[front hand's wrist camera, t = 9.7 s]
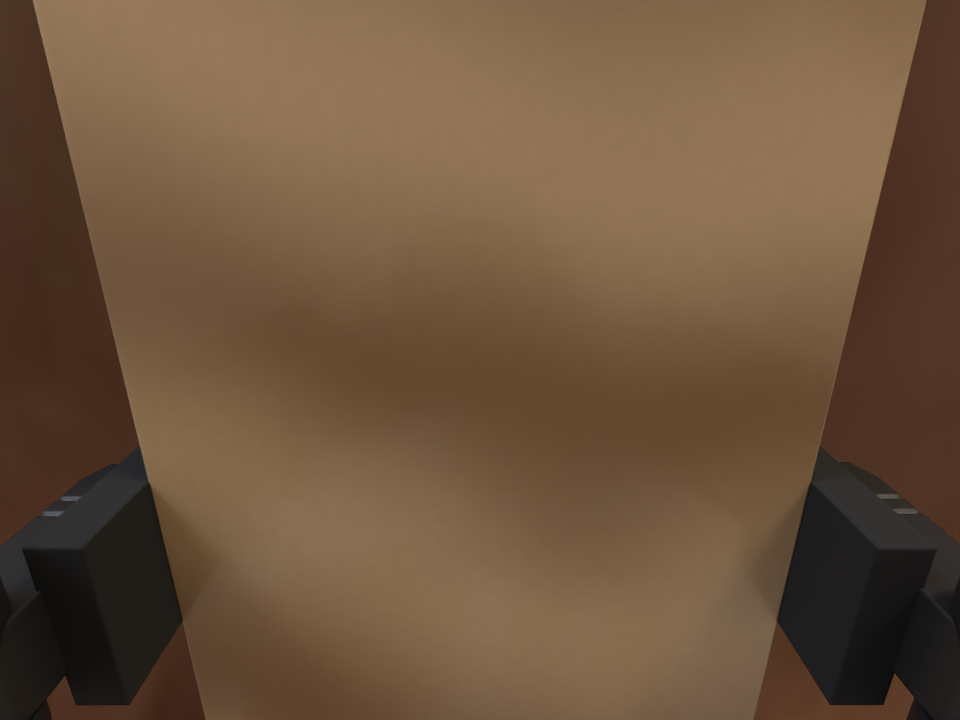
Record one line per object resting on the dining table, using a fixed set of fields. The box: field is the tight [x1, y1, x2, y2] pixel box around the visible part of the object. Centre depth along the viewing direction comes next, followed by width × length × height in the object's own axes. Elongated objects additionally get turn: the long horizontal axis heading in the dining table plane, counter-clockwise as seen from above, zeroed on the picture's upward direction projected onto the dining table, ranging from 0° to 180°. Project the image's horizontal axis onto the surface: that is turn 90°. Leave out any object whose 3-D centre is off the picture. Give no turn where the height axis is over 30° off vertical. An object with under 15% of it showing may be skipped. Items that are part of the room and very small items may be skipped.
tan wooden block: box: [33, 0, 927, 720], centre depth 12 cm, size 16×10×9 cm, turn 0°
